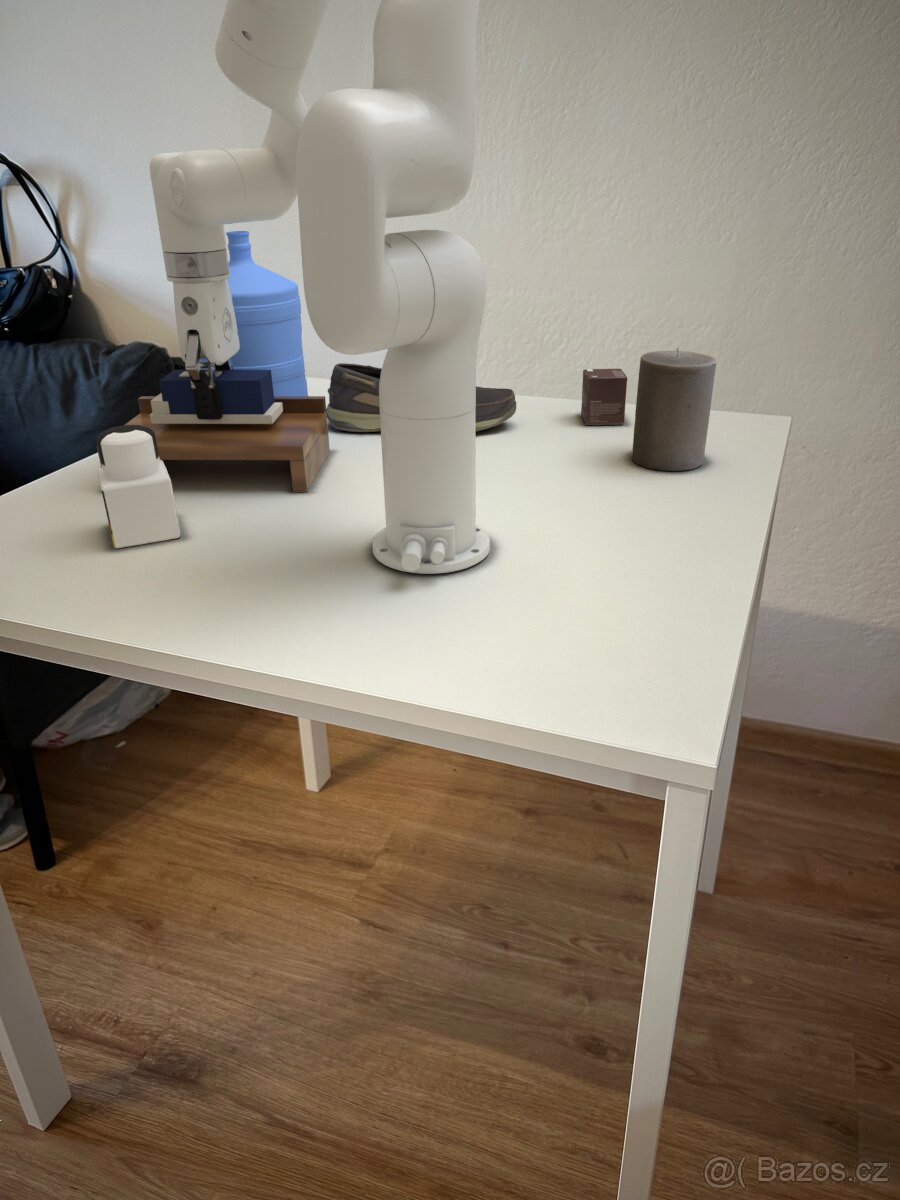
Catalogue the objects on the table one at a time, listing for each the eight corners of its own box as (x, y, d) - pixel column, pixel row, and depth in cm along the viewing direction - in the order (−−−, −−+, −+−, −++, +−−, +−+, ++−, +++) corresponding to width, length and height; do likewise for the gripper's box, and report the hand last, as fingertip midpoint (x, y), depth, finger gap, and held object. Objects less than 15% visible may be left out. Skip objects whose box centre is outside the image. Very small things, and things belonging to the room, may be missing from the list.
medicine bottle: (109, 526, 100) (87, 425, 94) (173, 516, 102) (155, 416, 96) (114, 549, 94) (91, 443, 88) (181, 538, 96) (162, 434, 91)
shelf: (307, 492, 108) (301, 430, 105) (106, 491, 110) (92, 430, 106) (329, 451, 123) (325, 396, 119) (151, 451, 124) (141, 396, 120)
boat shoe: (517, 437, 127) (519, 363, 122) (321, 438, 128) (314, 366, 123) (514, 416, 137) (516, 347, 132) (331, 418, 138) (325, 349, 133)
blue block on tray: (283, 411, 116) (278, 367, 113) (272, 424, 111) (267, 378, 108) (166, 410, 117) (159, 367, 114) (151, 423, 112) (142, 379, 109)
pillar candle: (625, 467, 115) (635, 353, 108) (637, 445, 123) (647, 338, 116) (700, 475, 112) (715, 358, 105) (707, 452, 120) (722, 342, 113)
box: (624, 425, 132) (628, 377, 128) (584, 426, 132) (587, 377, 128) (618, 414, 137) (621, 367, 134) (580, 414, 137) (582, 368, 134)
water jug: (281, 446, 125) (258, 238, 112) (188, 437, 130) (156, 236, 116) (328, 417, 138) (313, 227, 125) (242, 409, 143) (219, 226, 129)
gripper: (205, 275, 97) (227, 431, 106) (246, 257, 112) (262, 394, 121) (140, 276, 98) (167, 430, 106) (189, 257, 113) (209, 394, 121)
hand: (217, 410), depth 113 cm, fingers closed on blue block on tray, 6 cm apart
